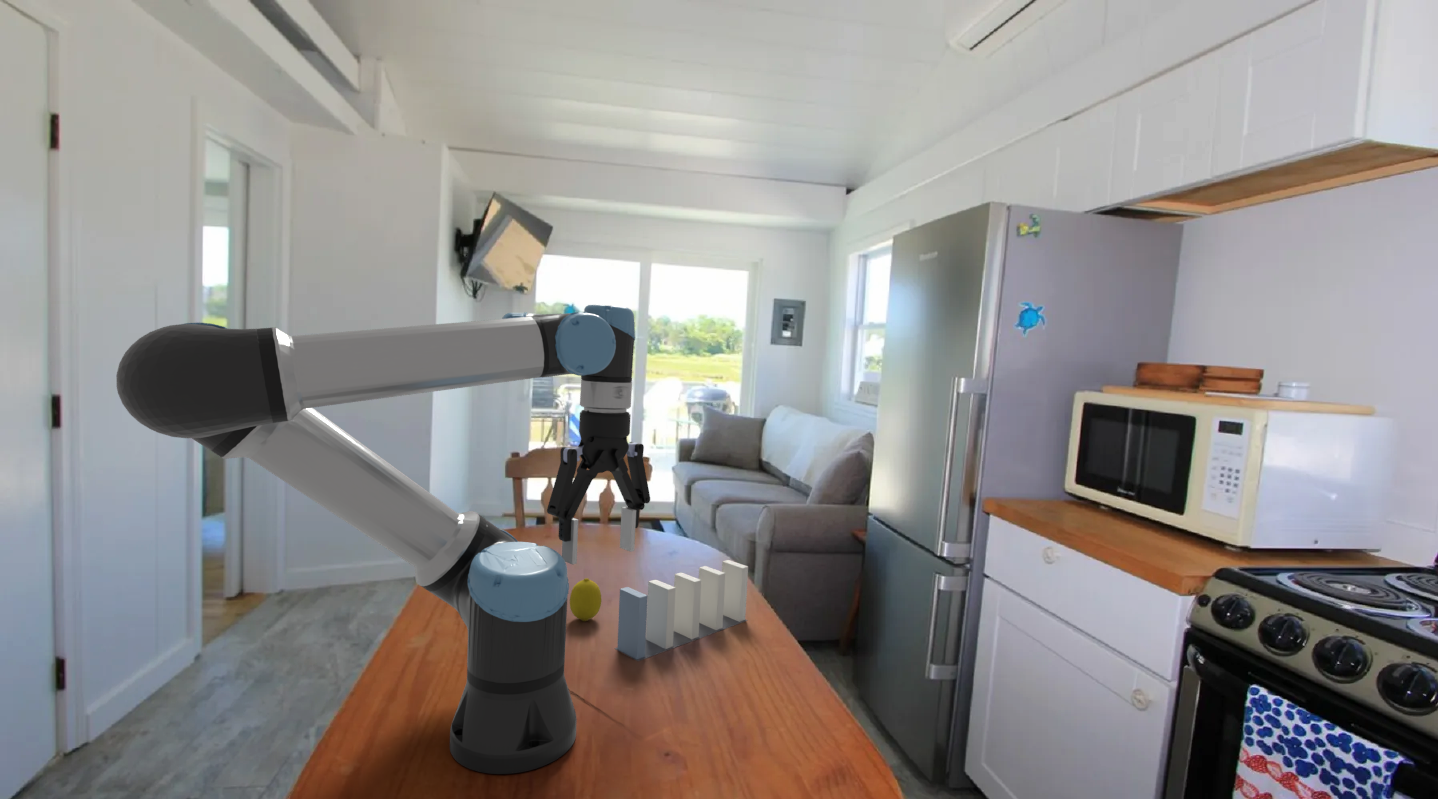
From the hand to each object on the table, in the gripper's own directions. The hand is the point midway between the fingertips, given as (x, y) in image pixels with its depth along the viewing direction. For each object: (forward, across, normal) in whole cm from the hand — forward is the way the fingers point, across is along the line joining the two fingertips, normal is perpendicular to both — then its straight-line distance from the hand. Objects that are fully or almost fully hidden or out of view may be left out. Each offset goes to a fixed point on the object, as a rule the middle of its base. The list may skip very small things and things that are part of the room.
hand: (599, 555), depth 105 cm
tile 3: (+17, +19, 0) cm, 26 cm away
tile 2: (+17, +13, 0) cm, 22 cm away
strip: (+18, +19, 0) cm, 26 cm away
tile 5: (+17, +31, 0) cm, 36 cm away
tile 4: (+17, +25, 0) cm, 30 cm away
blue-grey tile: (+17, +7, 0) cm, 19 cm away
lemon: (+18, +9, +16) cm, 25 cm away
